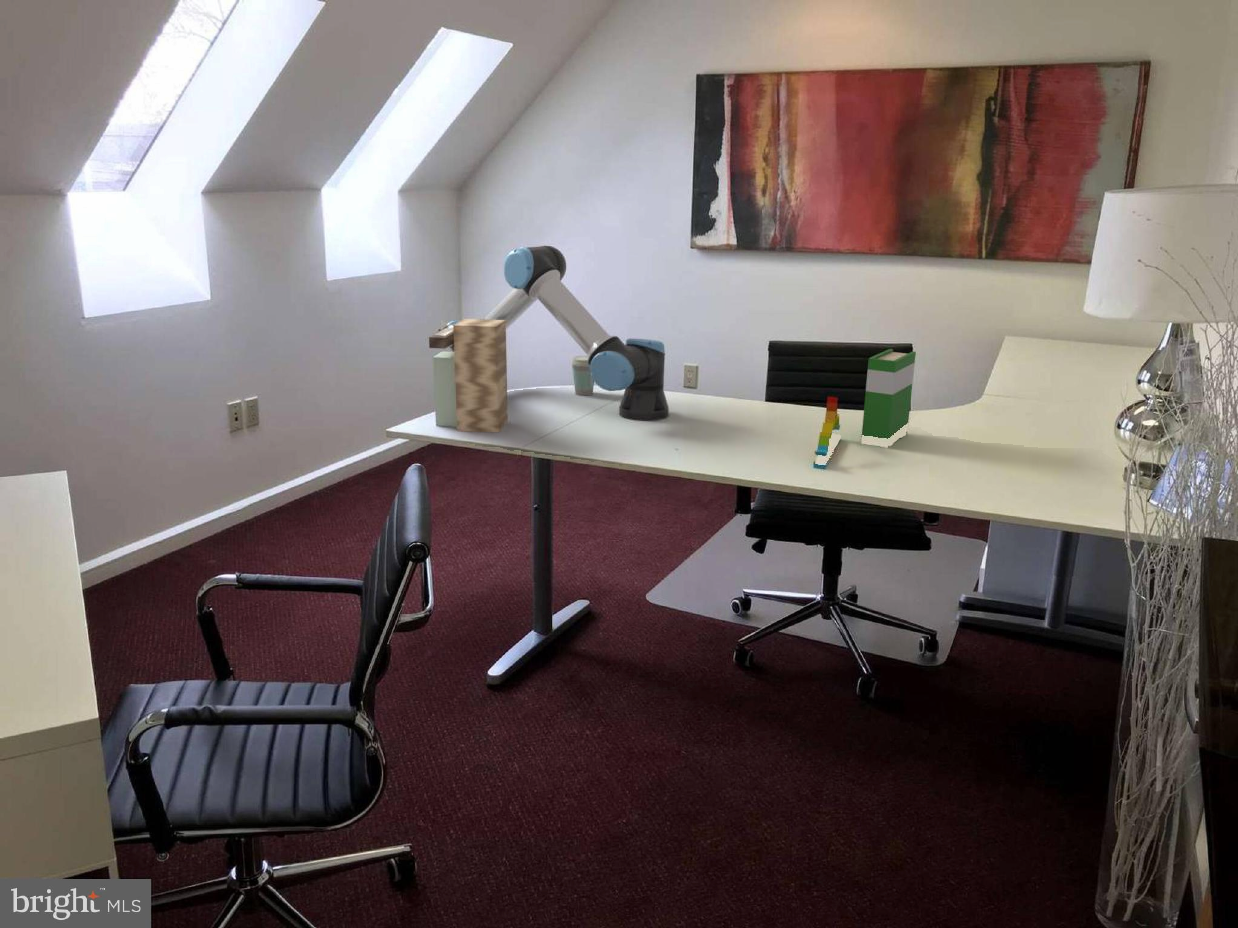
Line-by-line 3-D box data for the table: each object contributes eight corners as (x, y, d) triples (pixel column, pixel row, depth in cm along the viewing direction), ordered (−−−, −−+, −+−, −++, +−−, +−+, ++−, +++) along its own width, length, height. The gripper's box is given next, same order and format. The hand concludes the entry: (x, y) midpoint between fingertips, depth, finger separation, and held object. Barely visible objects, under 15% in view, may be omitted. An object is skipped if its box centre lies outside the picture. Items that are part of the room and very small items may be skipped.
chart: (826, 470, 243) (830, 412, 239) (813, 469, 244) (817, 411, 240) (841, 440, 271) (845, 388, 266) (829, 439, 272) (833, 386, 267)
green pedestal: (467, 418, 286) (465, 352, 280) (459, 426, 278) (457, 358, 272) (444, 417, 287) (441, 351, 281) (435, 425, 278) (432, 357, 273)
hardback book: (881, 430, 280) (889, 348, 273) (907, 434, 276) (915, 351, 269) (860, 444, 266) (868, 358, 259) (887, 448, 262) (895, 361, 255)
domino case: (465, 335, 286) (465, 324, 285) (445, 348, 265) (444, 337, 264) (451, 334, 286) (450, 323, 285) (429, 347, 265) (428, 336, 264)
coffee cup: (593, 397, 315) (593, 361, 312) (568, 395, 317) (568, 359, 313) (599, 391, 323) (599, 356, 320) (574, 390, 325) (574, 355, 321)
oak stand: (507, 421, 284) (505, 320, 275) (498, 432, 272) (496, 326, 263) (467, 420, 285) (464, 318, 276) (457, 430, 273) (453, 325, 265)
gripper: (496, 364, 298) (479, 338, 276) (441, 362, 300) (419, 336, 277) (498, 341, 300) (482, 313, 277) (443, 339, 302) (422, 311, 279)
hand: (451, 325), depth 277 cm, fingers closed on domino case, 4 cm apart
